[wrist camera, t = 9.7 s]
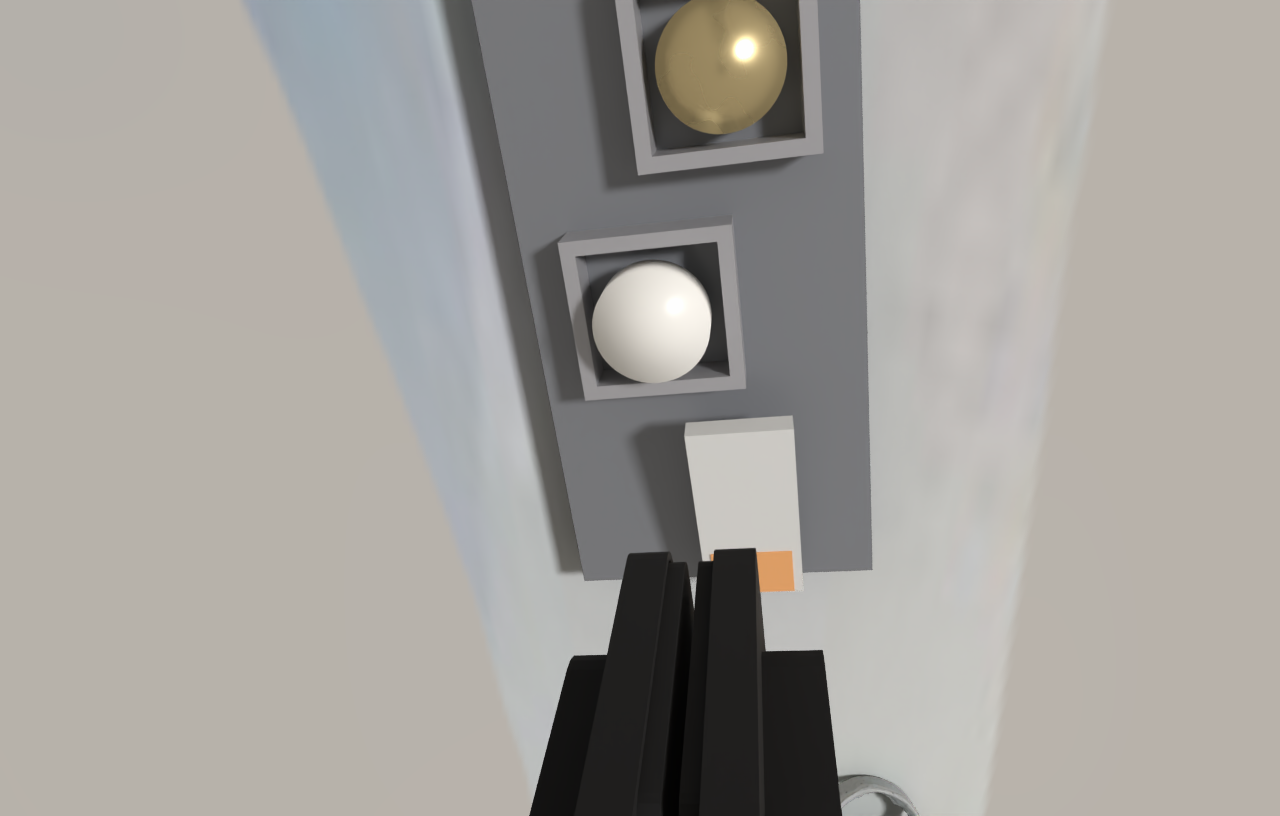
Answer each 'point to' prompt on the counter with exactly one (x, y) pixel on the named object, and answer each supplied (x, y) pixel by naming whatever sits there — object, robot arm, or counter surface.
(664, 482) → the control panel
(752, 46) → the brass button
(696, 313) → the white button
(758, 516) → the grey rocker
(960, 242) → the counter surface
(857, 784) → the ceramic mug
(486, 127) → the counter surface
